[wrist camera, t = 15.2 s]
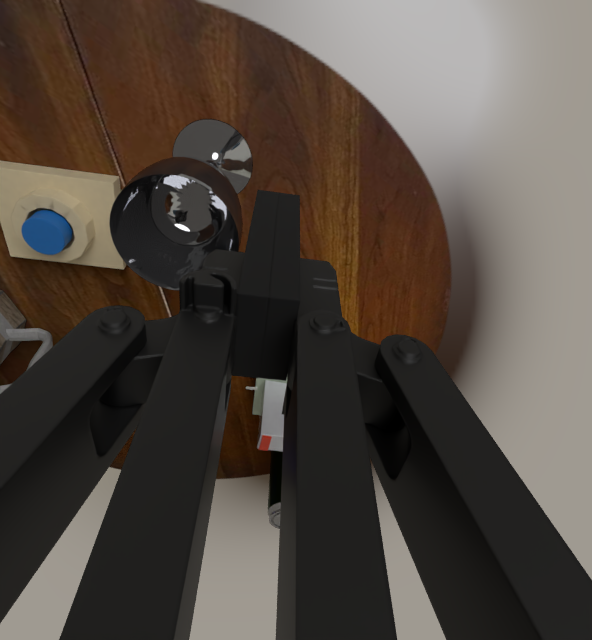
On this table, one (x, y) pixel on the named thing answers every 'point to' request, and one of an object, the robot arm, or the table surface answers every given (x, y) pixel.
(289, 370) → the robot arm
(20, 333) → the mug
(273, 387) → the red-tipped leaning gray slab
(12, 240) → the tan button base
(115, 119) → the table surface
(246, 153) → the wine glass
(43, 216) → the button
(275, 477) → the beer can
